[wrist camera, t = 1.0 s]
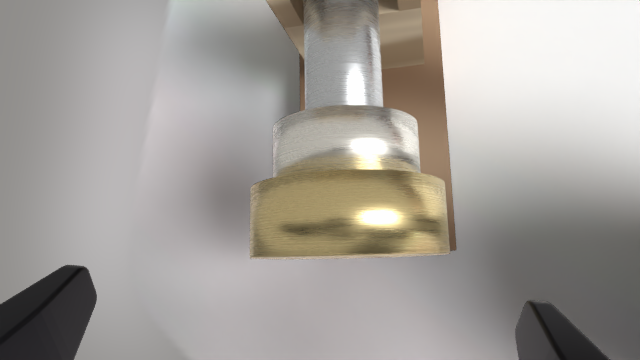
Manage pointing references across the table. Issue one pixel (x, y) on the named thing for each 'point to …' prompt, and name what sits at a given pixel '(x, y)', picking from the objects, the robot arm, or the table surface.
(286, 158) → the shaft
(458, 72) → the table surface
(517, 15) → the table surface
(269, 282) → the table surface
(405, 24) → the bearing stand
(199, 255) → the table surface
